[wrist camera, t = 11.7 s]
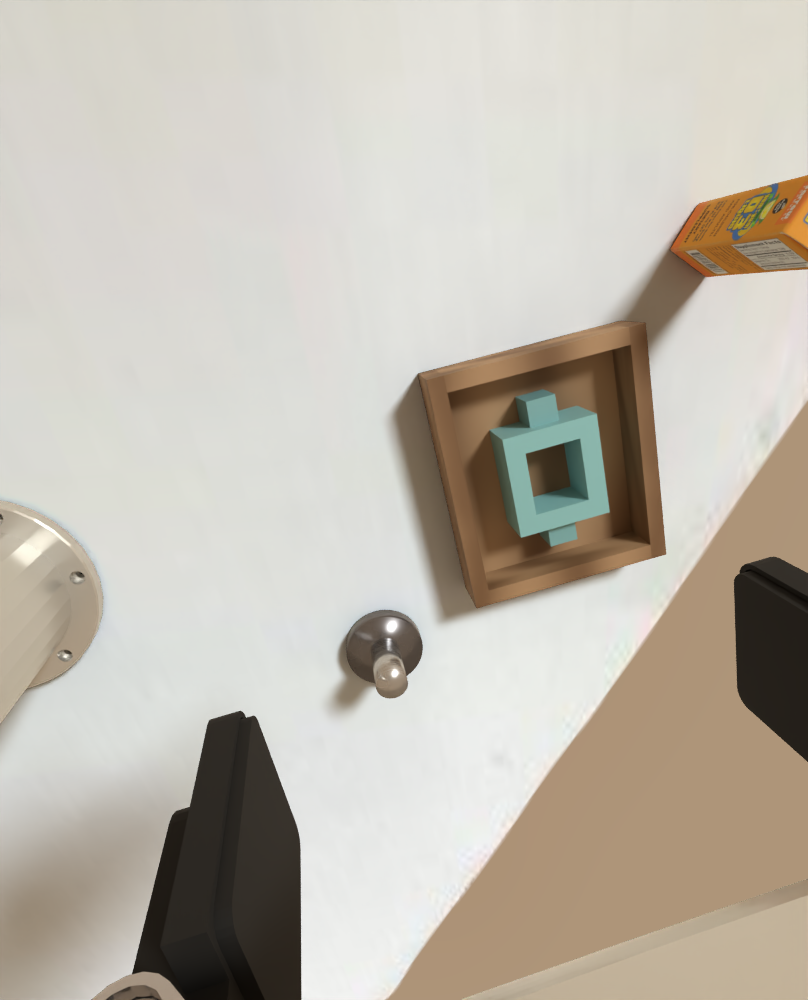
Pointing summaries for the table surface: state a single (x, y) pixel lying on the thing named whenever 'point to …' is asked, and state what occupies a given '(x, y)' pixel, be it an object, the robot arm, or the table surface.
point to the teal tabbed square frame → (584, 464)
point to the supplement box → (749, 231)
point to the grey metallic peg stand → (384, 650)
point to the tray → (548, 458)
